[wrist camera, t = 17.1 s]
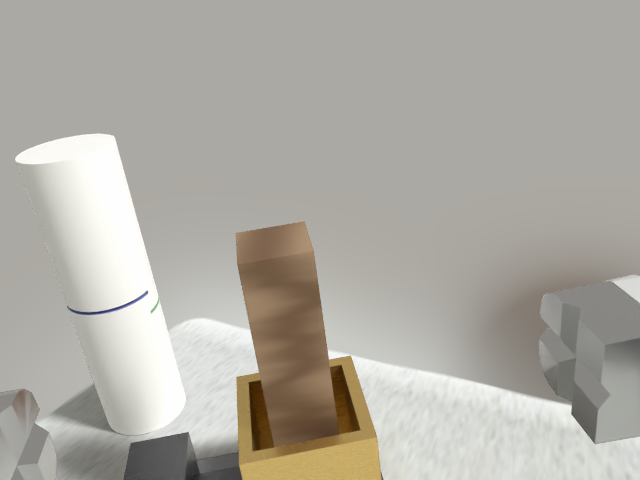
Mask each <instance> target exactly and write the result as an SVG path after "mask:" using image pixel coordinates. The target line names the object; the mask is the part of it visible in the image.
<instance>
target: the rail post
mask: <svg viewBox="0 0 640 480" xmlns="http://www.w3.org/2000/svg"><path fill="white" fill-rule="evenodd" d="M236 246H237V264H238V270H239V275H240V280H241V285H242V290H243V295H244V300H245V305H246V309H247V314H248V319H249V324H250V329H251V334H252V339H253V344H254V349H255V354H256V359H257V364H258V369H259V374H260V379H261V384H262V389H263V394H264V399H265V404H266V408H267V413H268V418H269V423H270V428H271V433H272V438H273V443H274V447H279V446H284V445H289V444H294V443H299V442H304V441H309V440H314V439H319V438H324V437H329V436H334V435H339V430H338V423H337V416H336V409H335V401H334V394H333V387H332V380H331V372H330V365H329V358H328V351H327V344H326V337H325V329H324V322H323V315H322V307H321V300H320V294H319V286H318V279H317V272H316V264H315V257H314V251H313V248H312V244H311V241H310V238H309V235H308V232H307V228H306V225H305V222H299V223H293V224H287V225H281V226H275V227H269V228H263V229H257V230H251V231H246V232H240V233H236Z"/></svg>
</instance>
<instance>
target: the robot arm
mask: <svg viewBox="0 0 640 480" xmlns="http://www.w3.org/2000/svg"><path fill="white" fill-rule="evenodd" d="M540 316H541V317H542V319H543V320H544V321H545V322H546V323H547V324H548V325H549V326H548V328H547V329H546V330H545V332H544V333H543V335H542V336H541V337H540V339H539V357H540V361H541V366H542V370H543V373H544V375H545V377H546V379H547V381H548V383H549V385H550V386H551V388H552V389H553V391H554V392H555V393H556V395H558V396H560V397H563V398H565V399H567V400H569V401H571V402H572V412H571V414H572V415H573V417H574V418H575V419H576V421H577V422H578V423H579V424H580V426H581V427H582V428H583V430H584V431H585V432H586V433H587V435H588V436H589V437H590V438H591V440H592V441H593V442H594V444H599V443H605V442H610V441H616V440H622V439H627V438H633V437H639V436H640V276H636V275H630V276H625V277H621V278H616V279H612V280H608V281H604V282H600V283H596V284H591V285H586V286H581V287H576V288H571V289H566V290H561V291H556V292H551V293H546V294H544V297H543V299H542V302H541V314H540ZM38 412H39V407H38V405H37V403H36V401H35V399H34V397H33V395H32V393H31V392H29V391H27V390H25V389H19V390H14V391H7V392H1V393H0V480H56V466H57V458H56V453H55V448H54V444H53V441H52V439H51V436H50V434H49V432H48V431H46V430H45V429H43V428H41V427H40V426H38V425H36V424H35V423H34V422H35V420H36V417H37V415H38Z"/></svg>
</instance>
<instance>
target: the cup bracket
mask: <svg viewBox="0 0 640 480" xmlns="http://www.w3.org/2000/svg"><path fill="white" fill-rule="evenodd" d="M329 365H330V372H331V380H332V387H333V394H334V401H335V409H336V416H337V423H338V430H339V435H334V436H329V437H324V438H319V439H314V440H309V441H304V442H299V443H294V444H289V445H284V446H279V447H274V443H273V438H272V433H271V428H270V423H269V418H268V413H267V408H266V404H265V399H264V394H263V389H262V384H261V379H260V374H259V373H256V374H250V375H245V376H240V377H237V411H238V445H239V452H237V453H232V454H227V455H222V456H217V457H212V458H206V459H201V460H196V457H195V453H194V450H193V446H192V442H191V439H190V435H189V432H187V433H182V434H176V435H171V436H166V437H161V438H156V439H151V440H145V441H140V442H135V443H131V445H130V450H129V455H128V460H127V465H126V470H125V476H124V480H383V477H382V473H381V470H380V461H379V451H378V441H377V435H376V432H375V429H374V426H373V423H372V420H371V417H370V414H369V411H368V407H367V404H366V401H365V398H364V395H363V392H362V389H361V386H360V383H359V380H358V376H357V373H356V370H355V367H354V364H353V361H352V358H351V356H346V357H341V358H336V359H330V360H329Z"/></svg>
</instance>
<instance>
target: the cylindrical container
mask: <svg viewBox="0 0 640 480" xmlns="http://www.w3.org/2000/svg"><path fill="white" fill-rule="evenodd" d="M15 161H16V163H17V166H18V169H19V172H20V175H21V178H22V180H23V183H24V186H25V189H26V192H27V195H28V197H29V200H30V203H31V206H32V209H33V211H34V214H35V217H36V220H37V223H38V226H39V228H40V231H41V234H42V237H43V240H44V242H45V245H46V248H47V251H48V254H49V257H50V259H51V263H52V265H53V268H54V271H55V274H56V277H57V279H58V282H59V285H60V288H61V291H62V294H63V296H64V299H65V302H66V304H67V308H68V310H69V313H70V316H71V319H72V322H73V325H74V328H75V330H76V333H77V336H78V339H79V341H80V344H81V347H82V350H83V353H84V356H85V359H86V362H87V364H88V367H89V370H90V373H91V375H92V378H93V381H94V384H95V387H96V390H97V393H98V395H99V398H100V401H101V404H102V407H103V410H104V412H105V415H106V418H107V421H108V423H109V426H110V427H111V428H112V429H113V430H114V431H116V432H117V433H120V434H123V435H141V434H146V433H149V432H152V431H155V430H157V429H160V428H162V427H164V426H165V425H167V424H168V423H170V422H171V421H172V420H173V419H175V418H176V417H177V416H178V415H179V413H180V412H181V411H182V409H183V407H184V405H185V400H186V396H185V393H184V389H183V385H182V382H181V378H180V374H179V370H178V367H177V363H176V359H175V356H174V352H173V348H172V345H171V341H170V337H169V334H168V330H167V326H166V323H165V319H164V315H163V312H162V308H161V305H160V301H159V297H158V293H157V290H156V286H155V282H154V279H153V276H152V271H151V268H150V264H149V261H148V257H147V253H146V250H145V246H144V243H143V239H142V235H141V231H140V228H139V224H138V221H137V217H136V213H135V210H134V206H133V202H132V199H131V195H130V192H129V188H128V184H127V181H126V177H125V173H124V170H123V166H122V162H121V159H120V155H119V152H118V148H117V144H116V141H115V137H113V136H112V135H108V134H88V135H79V136H72V137H67V138H62V139H58V140H54V141H50V142H47V143H43V144H41V145H37V146H35V147H32V148H30V149H28V150H26V151H23V152H22V153H20V154H19V155H18V156H17V157H16V159H15Z"/></svg>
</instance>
